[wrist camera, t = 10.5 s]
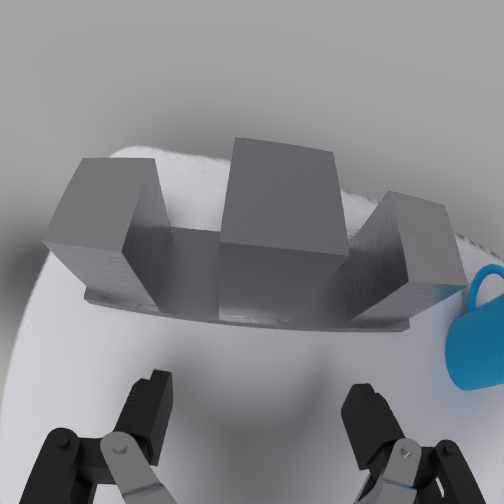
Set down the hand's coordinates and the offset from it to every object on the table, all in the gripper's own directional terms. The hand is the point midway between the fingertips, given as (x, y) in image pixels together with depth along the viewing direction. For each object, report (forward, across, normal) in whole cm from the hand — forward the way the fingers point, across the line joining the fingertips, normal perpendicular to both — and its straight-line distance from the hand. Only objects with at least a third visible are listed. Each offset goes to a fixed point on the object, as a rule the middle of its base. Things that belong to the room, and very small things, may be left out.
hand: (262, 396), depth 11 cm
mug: (+9, -23, +2) cm, 24 cm away
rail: (+11, 0, 0) cm, 11 cm away
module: (+10, 0, -1) cm, 11 cm away
